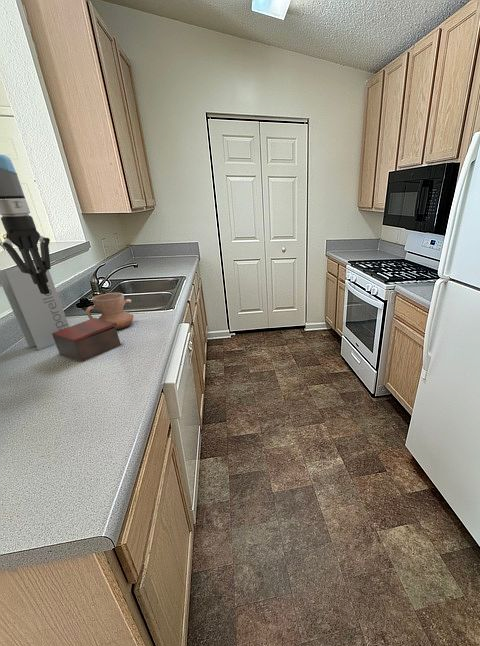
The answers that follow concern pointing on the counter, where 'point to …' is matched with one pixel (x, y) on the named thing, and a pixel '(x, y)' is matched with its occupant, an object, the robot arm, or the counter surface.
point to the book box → (88, 345)
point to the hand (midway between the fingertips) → (45, 293)
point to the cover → (84, 329)
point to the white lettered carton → (33, 307)
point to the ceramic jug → (111, 309)
